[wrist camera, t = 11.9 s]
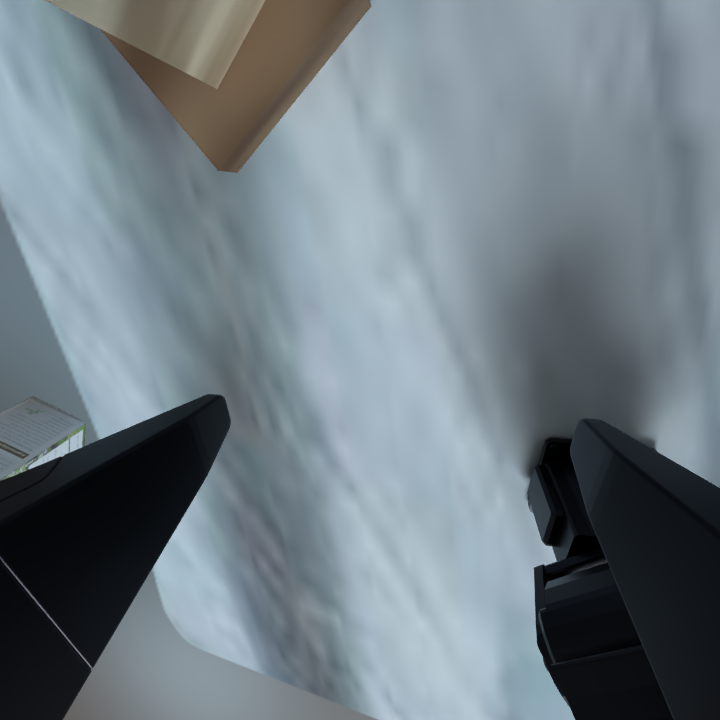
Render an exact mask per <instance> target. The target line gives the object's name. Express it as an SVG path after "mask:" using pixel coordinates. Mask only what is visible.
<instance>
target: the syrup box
mask: <svg viewBox="0 0 720 720" xmlns="http://www.w3.org/2000/svg"><path fill="white" fill-rule="evenodd" d="M84 441H85V423H84V422H83V421H81V420H79V419H77V418H76V417H74V416H72V415H70V414H68V413H66V412H64V411H62V410H60V409H58V408H56V407H54V406H52V405H50V404H48V403H46V402H44V401H41V400H39V399H37V398H35V397H30V398H28V399H26V400H24V401H22V402H20V403H18V404H17V405H15V406H13V407H11V408H9V409H7V410H5V411H3V412H1V413H0V481H1V480H4V479H7V478H9V477H12V476H14V475H17V474H19V473H22V472H24V471H26V470H29V469H31V468H34V467H36V466H39V465H41V464H43V463H46V462H48V461H51V460H53V459H55V458H58V457H63V456H64V455H65V454H67V453H70V452H72V451H74V450H77V449H79V448H82V447H84Z"/></svg>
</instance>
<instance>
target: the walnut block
mask: <svg viewBox="0 0 720 720" xmlns="http://www.w3.org/2000/svg"><path fill="white" fill-rule="evenodd" d="M370 7H371V5H370V2H369V0H265V2H264V4H263V6H262V8H261V10H260V11H259V13H258V15H257V17H256V19H255V21H254V23H253V24H252V26H251V28H250V30H249V32H248V34H247V35H246V37H245V39H244V41H243V43H242V45H241V47H240V48H239V50H238V52H237V54H236V56H235V58H234V59H233V61H232V63H231V65H230V67H229V69H228V70H227V72H226V74H225V76H224V78H223V80H222V82H221V83H220V85H219V87H218V89H216V88H214V87H212V86H210V85H208V84H206V83H204V82H202V81H200V80H198V79H197V78H195V77H193V76H191V75H189V74H187V73H185V72H183V71H181V70H179V69H177V68H175V67H173V66H171V65H169V64H167V63H165V62H164V61H162V60H160V59H158V58H156V57H154V56H152V55H150V54H148V53H146V52H144V51H142V50H140V49H138V48H136V47H134V46H133V45H131V44H129V43H127V42H125V41H123V40H121V39H119V38H117V37H115V36H113V35H111V34H109V33H107V32H105V31H103V30H101V29H100V30H101V31H102V32H103V33H104V34H105V36H106V37H107V38H108V39H109V40H110V42H111V43H112V44H113V45H114V46H115V48H116V49H117V50H118V51H119V52H120V54H121V55H122V56H123V57H124V58H125V60H126V61H127V62H128V63H129V64H130V66H131V67H132V68H133V69H134V70H135V72H136V73H137V74H138V75H139V76H140V78H141V79H142V80H143V81H144V82H145V83H146V85H147V86H148V87H149V88H150V89H151V91H152V92H153V93H154V94H155V95H156V97H157V98H158V99H159V100H160V101H161V103H162V104H163V105H164V106H165V107H166V109H167V110H168V111H169V112H170V113H171V115H172V116H173V117H174V118H175V119H176V121H177V122H178V123H179V124H180V125H181V127H182V128H183V129H184V130H185V131H186V133H187V134H188V135H189V136H190V137H191V139H192V140H193V141H194V142H195V143H196V145H197V146H198V147H199V148H200V149H201V151H202V152H203V153H204V154H205V155H206V157H207V158H208V159H209V160H210V161H211V163H212V164H213V165H214V166H215V167H216V168H217V170H218V171H227V172H235V173H238V171H239V170H240V169H241V168H242V166H243V165H244V164H245V163H246V161H247V160H248V159H249V158H250V156H251V155H252V154H253V153H254V151H255V150H256V149H257V148H258V146H259V145H260V144H261V143H262V142H263V140H264V139H265V138H266V137H267V135H268V134H269V133H270V132H271V130H272V129H273V128H274V127H275V125H276V124H277V123H278V122H279V120H280V119H281V118H282V117H283V115H284V114H285V113H286V112H287V110H288V109H289V108H290V107H291V105H292V104H293V103H294V102H295V100H296V99H297V98H298V97H299V95H300V94H301V93H302V92H303V90H304V89H305V88H306V87H307V85H308V84H309V83H310V82H311V80H312V79H313V78H314V77H315V75H316V74H317V73H318V72H319V71H320V69H321V68H322V67H323V66H324V64H325V63H326V62H327V61H328V59H329V58H330V57H331V56H332V54H333V53H334V52H335V51H336V49H337V48H338V47H339V46H340V44H341V43H342V42H343V41H344V39H345V38H346V37H347V36H348V34H349V33H350V32H351V31H352V29H353V28H354V27H355V26H356V24H357V23H358V22H359V21H360V19H361V18H362V17H363V16H364V14H365V13H366V12H367V11H368V9H369V8H370Z"/></svg>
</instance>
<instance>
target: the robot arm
mask: <svg viewBox="0 0 720 720" xmlns="http://www.w3.org/2000/svg"><path fill="white" fill-rule="evenodd" d="M230 423H231V420H230V415H229V411H228V408H227V404H226V400H225V398H224V397H223V396H222V395H215V394H207V395H205V396H202V397H200V398H198V399H195V400H193V401H191V402H188V403H186V404H183V405H181V406H179V407H176V408H174V409H172V410H169V411H167V412H164V413H162V414H160V415H157V416H155V417H153V418H150V419H148V420H146V421H143V422H141V423H138V424H136V425H134V426H131V427H129V428H127V429H124V430H122V431H119V432H117V433H115V434H112V435H110V436H108V437H105V438H103V439H100V440H98V441H96V442H93V443H91V444H89V445H86V446H84V447H82V448H79V449H77V450H74V451H72V452H70V453H67V454H65V455H64V456H63V457H58V458H55V459H53V460H51V461H48V462H46V463H43V464H41V465H39V466H36V467H34V468H31V469H29V470H26V471H24V472H22V473H19V474H17V475H14V476H12V477H9V478H7V479H4V480H1V481H0V720H63V718H64V717H65V715H66V713H67V712H68V710H69V708H70V707H71V705H72V703H73V701H74V700H75V698H76V696H77V695H78V693H79V691H80V690H81V688H82V686H83V684H84V683H85V681H86V680H87V678H88V676H89V675H90V673H91V669H92V668H93V667H94V666H95V664H96V662H97V661H98V659H99V657H100V656H101V654H102V652H103V650H104V649H105V647H106V645H107V644H108V642H109V640H110V639H111V637H112V635H113V634H114V632H115V630H116V629H117V627H118V625H119V623H120V622H121V620H122V619H123V617H124V615H125V613H126V612H127V610H128V608H129V607H130V605H131V603H132V602H133V600H134V598H135V596H136V595H137V593H138V591H139V590H140V588H141V587H142V585H143V583H144V581H145V580H146V578H147V576H148V574H149V573H150V571H151V570H152V568H153V566H154V565H155V563H156V561H157V560H158V558H159V556H160V555H161V553H162V551H163V549H164V548H165V546H166V544H167V543H168V541H169V539H170V538H171V536H172V534H173V533H174V531H175V529H176V528H177V526H178V524H179V523H180V521H181V519H182V517H183V516H184V514H185V512H186V511H187V509H188V507H189V506H190V504H191V502H192V501H193V499H194V497H195V496H196V494H197V492H198V491H199V489H200V487H201V485H202V484H203V482H204V480H205V478H206V477H207V475H208V473H209V471H210V469H211V467H212V465H213V463H214V460H215V458H216V456H217V454H218V452H219V450H220V447H221V445H222V443H223V441H224V439H225V437H226V435H227V432H228V430H229V428H230ZM552 445H556V446H555V447H551V446H552ZM528 497H529V502H528V506H529V509H530V511H531V512H532V513H534V516H535V520H536V523H537V526H538V530H539V533H540V536H541V539H542V541H543V543H544V544H545V545H547V546H552V548H553V551H554V554H555V557H556V560H557V562H554V563H551V564H549V565H546V566H545V565H540V566H537V567H534V580H535V611H536V630H537V645H538V648H539V650H540V652H541V654H542V656H543V661H544V664H545V667H546V669H547V670H548V672H549V673H550V675H551V677H552V679H553V681H554V683H555V685H556V687H557V689H558V690H559V692H560V694H561V695H562V697H563V698H564V700H565V701H566V703H567V704H568V705H569V707H570V708H571V711H572V713H573V715H574V718H575V720H720V488H719V487H717V486H715V485H713V484H712V483H710V482H708V481H707V480H705V479H703V478H701V477H700V476H698V475H696V474H694V473H693V472H691V471H689V470H687V469H686V468H684V467H682V466H681V465H679V464H677V463H675V462H674V461H672V460H670V459H668V458H667V457H665V456H663V455H662V454H660V453H658V452H657V450H655V449H653V448H649V447H648V446H646V445H644V444H642V443H641V442H639V441H637V440H636V439H634V438H632V437H630V436H629V435H627V434H625V433H623V432H622V431H620V430H618V429H617V428H615V427H613V426H611V425H610V424H608V423H606V422H604V421H603V420H599V419H581V420H580V421H579V422H578V424H577V427H576V430H575V433H574V437H573V440H572V439H562V438H549V439H547V440H546V441H545V443H544V447H543V450H542V454H541V458H540V461H539V464H537V465H536V466H535V467H534V470H533V473H532V477H531V481H530V485H529V489H528Z"/></svg>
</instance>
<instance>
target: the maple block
mask: <svg viewBox="0 0 720 720" xmlns="http://www.w3.org/2000/svg"><path fill="white" fill-rule="evenodd" d="M45 1H47V2H49V3H51V4H53V5H55V6H57V7H59V8H61V9H63V10H65V11H67V12H69V13H70V14H72V15H74V16H76V17H78V18H80V19H82V20H84V21H86V22H88V23H90V24H92V25H94V26H96V27H98V28H100V29H101V30H103V31H105V32H107V33H109V34H111V35H113V36H115V37H117V38H119V39H121V40H123V41H125V42H127V43H129V44H131V45H133V46H134V47H136V48H138V49H140V50H142V51H144V52H146V53H148V54H150V55H152V56H154V57H156V58H158V59H160V60H162V61H164V62H165V63H167V64H169V65H171V66H173V67H175V68H177V69H179V70H181V71H183V72H185V73H187V74H189V75H191V76H193V77H195V78H197V79H198V80H200V81H202V82H204V83H206V84H208V85H210V86H212V87H214V88H216V89H218V87H219V85H220V83H221V82H222V80H223V78H224V76H225V74H226V72H227V70H228V69H229V67H230V65H231V63H232V61H233V59H234V58H235V56H236V54H237V52H238V50H239V48H240V47H241V45H242V43H243V41H244V39H245V37H246V35H247V34H248V32H249V30H250V28H251V26H252V24H253V23H254V21H255V19H256V17H257V15H258V13H259V11H260V10H261V8H262V6H263V4H264V2H265V0H45Z"/></svg>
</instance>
